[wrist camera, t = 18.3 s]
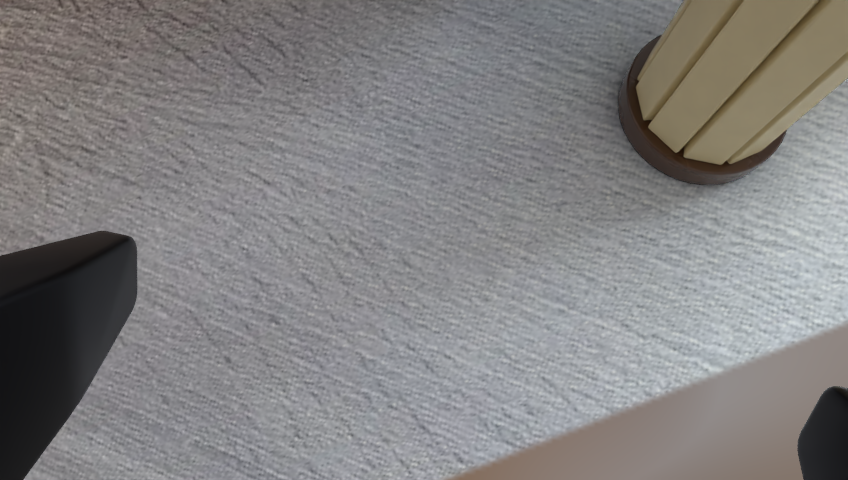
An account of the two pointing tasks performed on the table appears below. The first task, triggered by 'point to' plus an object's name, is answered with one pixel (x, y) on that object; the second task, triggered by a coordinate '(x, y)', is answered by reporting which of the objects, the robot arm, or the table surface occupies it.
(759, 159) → the brown peg stand
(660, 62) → the tube
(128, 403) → the table surface
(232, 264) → the table surface
